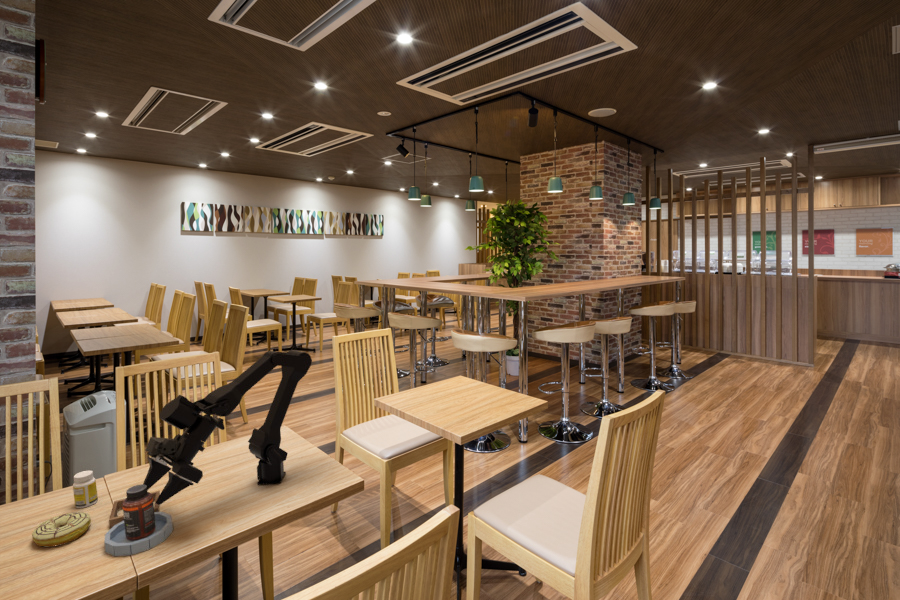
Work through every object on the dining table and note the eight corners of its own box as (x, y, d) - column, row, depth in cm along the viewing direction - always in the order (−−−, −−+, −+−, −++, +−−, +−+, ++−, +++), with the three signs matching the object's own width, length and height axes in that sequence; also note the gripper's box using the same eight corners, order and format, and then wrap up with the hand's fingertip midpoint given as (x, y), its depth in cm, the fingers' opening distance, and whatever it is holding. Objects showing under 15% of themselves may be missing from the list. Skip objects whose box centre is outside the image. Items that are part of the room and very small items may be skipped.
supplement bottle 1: (96, 496, 124) (93, 467, 123) (99, 503, 121) (96, 473, 120) (74, 503, 121) (70, 473, 120) (76, 510, 118) (72, 480, 117)
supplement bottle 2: (159, 524, 110) (155, 480, 109) (151, 538, 104) (147, 492, 103) (131, 528, 108) (127, 484, 107) (121, 543, 103) (116, 496, 101)
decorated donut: (72, 519, 114) (71, 505, 114) (101, 527, 111) (100, 513, 110) (22, 544, 104) (20, 529, 104) (53, 554, 101) (51, 538, 100)
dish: (182, 519, 113) (181, 510, 113) (153, 553, 100) (153, 543, 100) (127, 522, 112) (126, 513, 112) (91, 557, 99) (90, 547, 99)
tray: (160, 498, 123) (159, 490, 123) (158, 516, 115) (157, 508, 114) (115, 508, 118) (114, 500, 118) (109, 528, 110) (108, 520, 109)
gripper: (152, 415, 115) (105, 473, 108) (184, 432, 104) (133, 498, 97) (188, 433, 122) (145, 489, 115) (221, 452, 111) (177, 515, 104)
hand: (149, 497), depth 107 cm, fingers open, 9 cm apart
